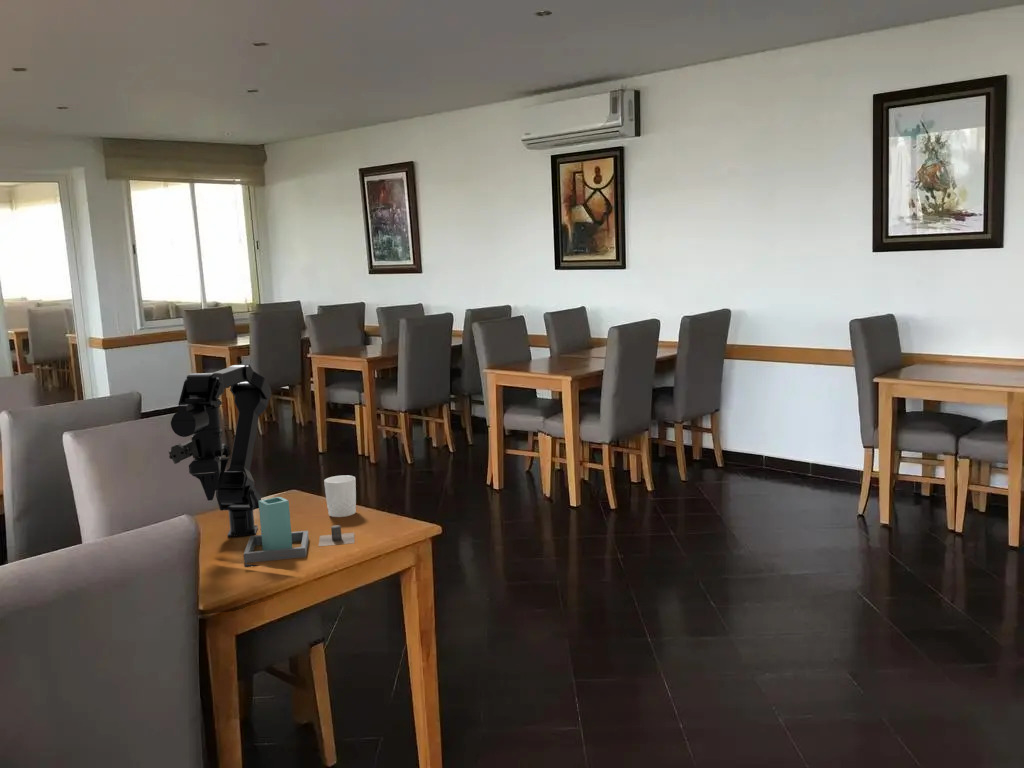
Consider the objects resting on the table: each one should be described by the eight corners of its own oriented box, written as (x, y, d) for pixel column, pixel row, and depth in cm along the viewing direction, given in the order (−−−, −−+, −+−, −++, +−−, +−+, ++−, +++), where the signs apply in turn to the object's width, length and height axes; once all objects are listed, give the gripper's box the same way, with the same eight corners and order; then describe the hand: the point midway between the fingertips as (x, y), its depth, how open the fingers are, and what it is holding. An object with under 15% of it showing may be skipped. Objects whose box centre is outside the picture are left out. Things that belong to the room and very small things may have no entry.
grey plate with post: (320, 539, 203) (318, 523, 203) (354, 536, 205) (353, 520, 204) (318, 550, 196) (317, 533, 195) (354, 547, 197) (353, 530, 196)
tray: (251, 548, 199) (250, 535, 199) (309, 542, 201) (308, 530, 201) (244, 567, 187) (243, 553, 186) (306, 561, 189) (305, 547, 188)
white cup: (320, 520, 220) (317, 482, 218) (337, 511, 227) (334, 474, 225) (347, 522, 217) (344, 483, 215) (363, 513, 224) (361, 475, 223)
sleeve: (262, 552, 194) (258, 500, 193) (283, 547, 197) (279, 496, 196) (271, 557, 190) (267, 505, 189) (292, 552, 193) (288, 500, 192)
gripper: (177, 423, 203) (184, 488, 205) (161, 438, 185) (168, 509, 187) (227, 420, 205) (232, 484, 207) (215, 434, 187) (221, 504, 189)
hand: (213, 495), depth 198 cm, fingers open, 9 cm apart
